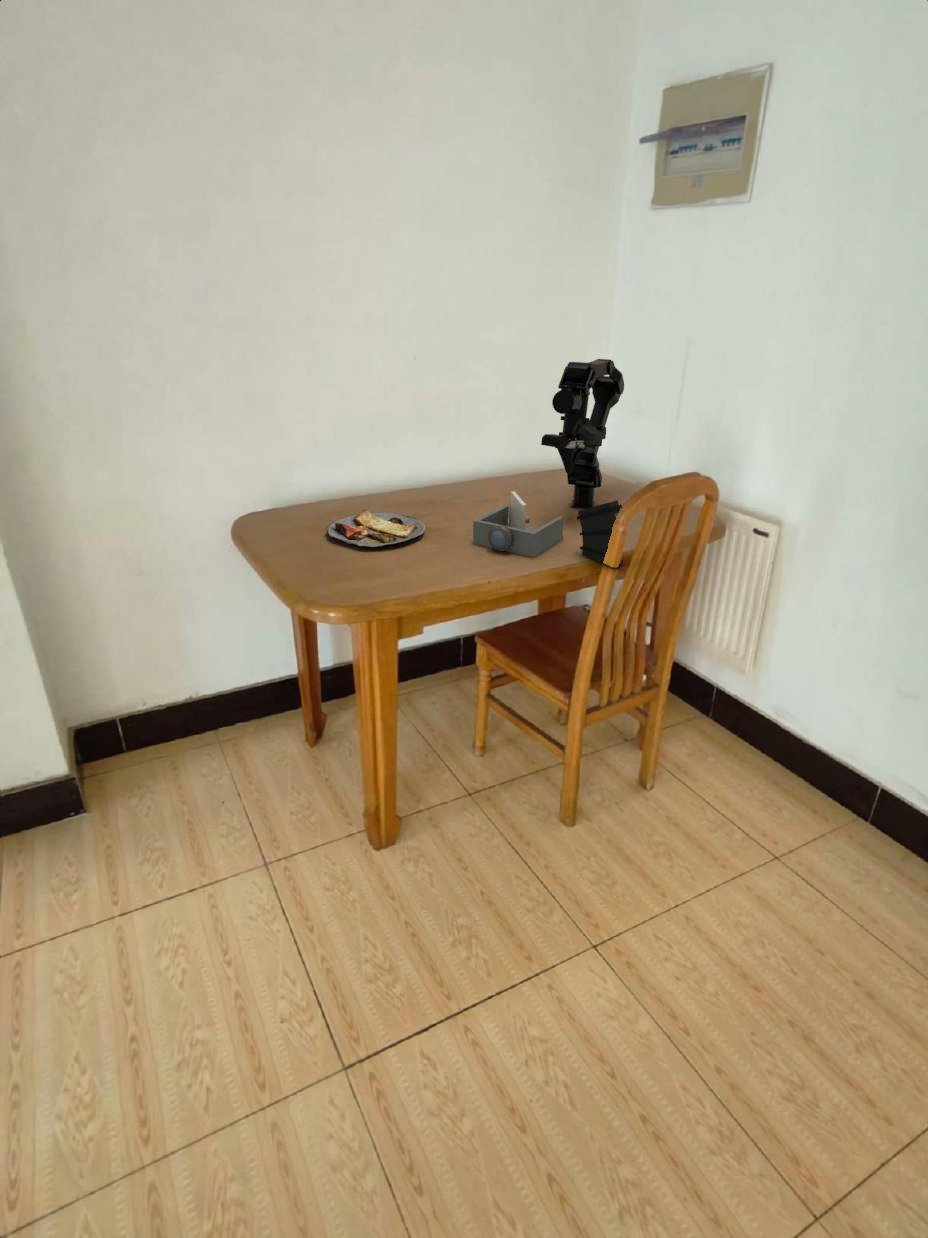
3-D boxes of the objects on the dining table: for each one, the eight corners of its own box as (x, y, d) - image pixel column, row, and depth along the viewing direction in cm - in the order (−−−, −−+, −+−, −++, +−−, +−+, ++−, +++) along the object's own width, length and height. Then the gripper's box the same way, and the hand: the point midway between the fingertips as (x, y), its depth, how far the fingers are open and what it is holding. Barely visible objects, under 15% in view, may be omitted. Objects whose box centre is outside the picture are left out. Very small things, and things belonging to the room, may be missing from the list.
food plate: (309, 535, 186) (308, 522, 185) (372, 514, 203) (371, 502, 201) (380, 560, 173) (380, 546, 171) (441, 534, 190) (441, 522, 188)
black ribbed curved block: (624, 567, 163) (608, 502, 162) (585, 573, 174) (570, 513, 173) (635, 563, 165) (620, 499, 164) (596, 570, 176) (581, 510, 175)
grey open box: (505, 526, 193) (505, 502, 190) (563, 538, 185) (564, 514, 182) (468, 546, 180) (468, 520, 177) (528, 560, 171) (529, 534, 168)
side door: (508, 523, 191) (509, 490, 187) (517, 523, 192) (518, 490, 188) (520, 539, 180) (521, 505, 176) (529, 539, 180) (530, 504, 176)
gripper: (577, 415, 177) (569, 479, 182) (622, 416, 189) (614, 476, 194) (543, 411, 184) (536, 473, 189) (588, 412, 196) (581, 470, 202)
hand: (568, 473), depth 193 cm, fingers closed
